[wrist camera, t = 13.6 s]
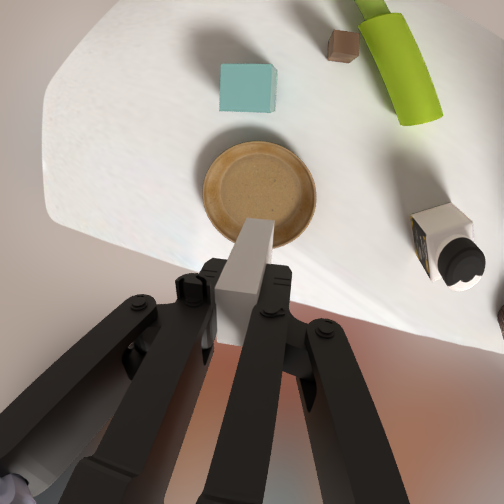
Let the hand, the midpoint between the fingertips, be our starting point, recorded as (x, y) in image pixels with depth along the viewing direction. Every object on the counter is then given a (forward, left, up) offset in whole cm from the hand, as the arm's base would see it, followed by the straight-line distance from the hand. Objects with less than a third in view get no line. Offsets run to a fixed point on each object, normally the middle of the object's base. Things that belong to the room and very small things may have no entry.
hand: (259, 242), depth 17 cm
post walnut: (-6, -15, -24) cm, 29 cm away
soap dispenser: (-16, -8, -21) cm, 27 cm away
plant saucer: (+3, +5, -25) cm, 25 cm away
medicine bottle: (-23, +7, -24) cm, 34 cm away
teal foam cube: (+4, -9, -23) cm, 25 cm away
